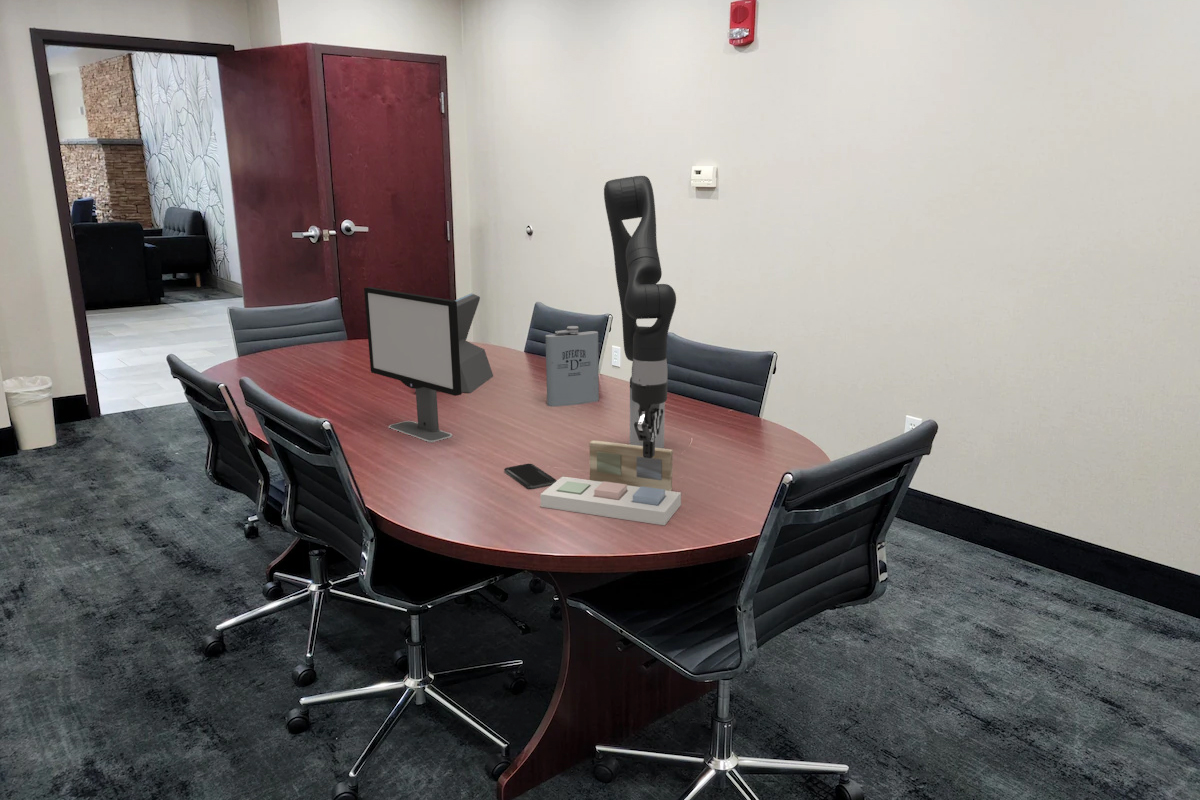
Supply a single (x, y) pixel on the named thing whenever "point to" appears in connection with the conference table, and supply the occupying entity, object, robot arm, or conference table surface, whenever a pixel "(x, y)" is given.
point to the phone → (530, 476)
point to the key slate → (649, 496)
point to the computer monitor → (415, 351)
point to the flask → (572, 367)
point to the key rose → (610, 490)
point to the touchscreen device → (470, 348)
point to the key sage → (573, 487)
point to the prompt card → (630, 465)
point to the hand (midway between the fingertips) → (648, 456)
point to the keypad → (610, 503)
